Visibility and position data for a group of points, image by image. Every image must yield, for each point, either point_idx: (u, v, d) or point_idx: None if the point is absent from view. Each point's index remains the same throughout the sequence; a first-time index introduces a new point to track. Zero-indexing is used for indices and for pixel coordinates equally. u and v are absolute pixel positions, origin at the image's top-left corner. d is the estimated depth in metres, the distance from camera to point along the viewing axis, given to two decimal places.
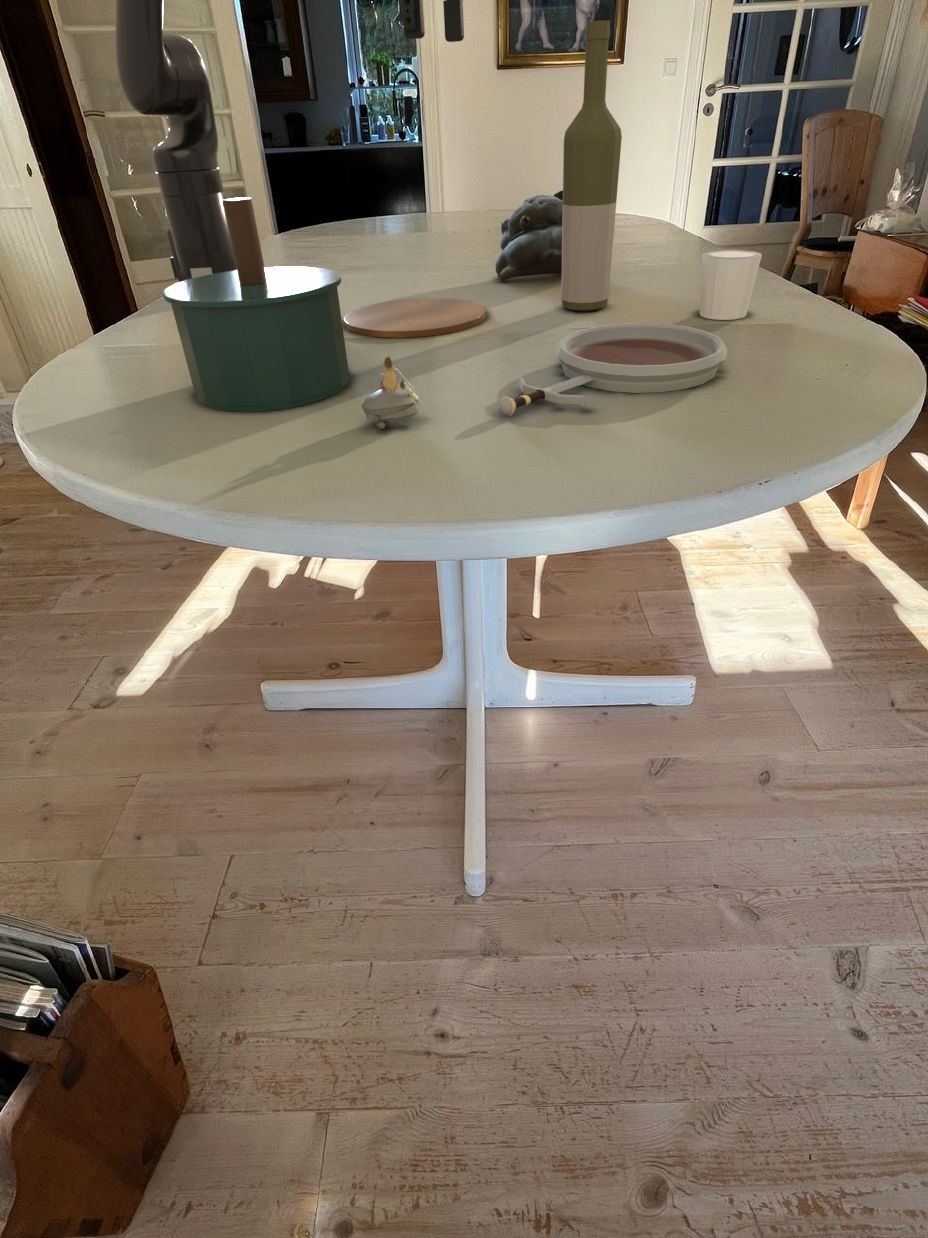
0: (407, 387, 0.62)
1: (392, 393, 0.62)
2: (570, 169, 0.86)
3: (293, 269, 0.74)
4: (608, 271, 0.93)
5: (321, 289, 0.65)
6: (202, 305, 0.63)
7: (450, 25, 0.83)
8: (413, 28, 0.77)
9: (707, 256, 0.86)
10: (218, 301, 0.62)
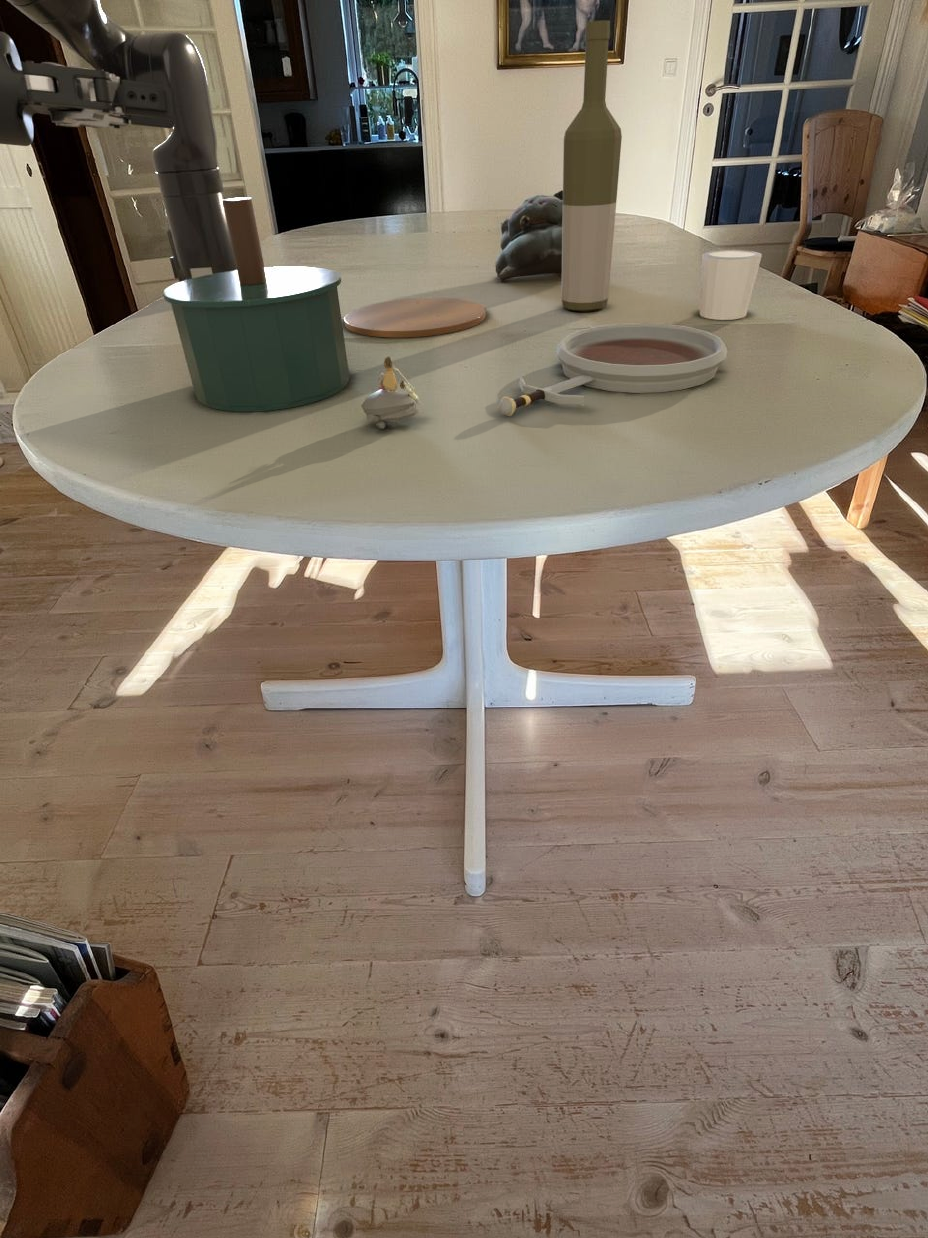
0: (407, 387, 0.62)
1: (392, 393, 0.62)
2: (570, 169, 0.86)
3: (293, 269, 0.74)
4: (608, 271, 0.93)
5: (321, 289, 0.65)
6: (202, 305, 0.63)
7: None
8: None
9: (707, 256, 0.86)
10: (218, 301, 0.62)
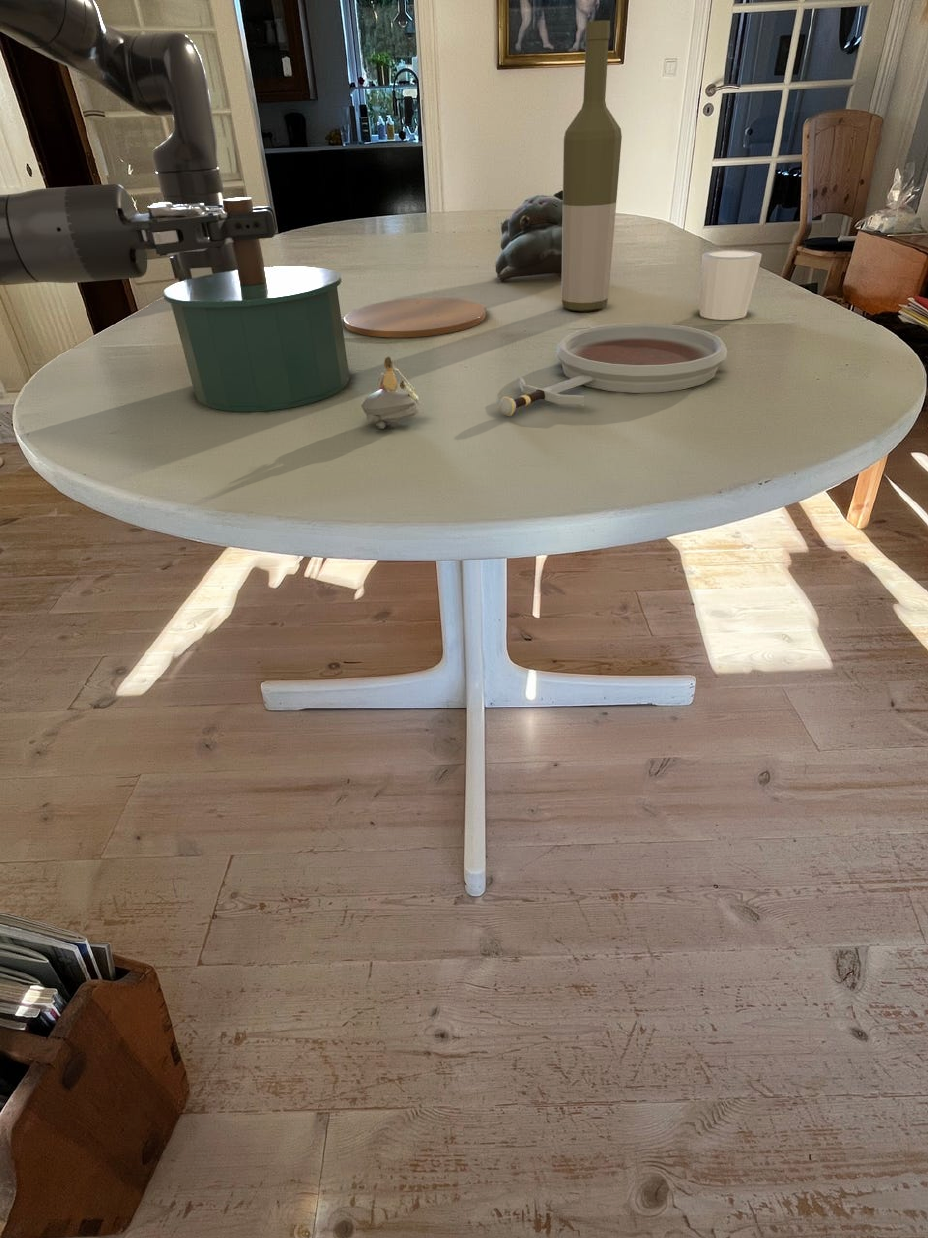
0: (407, 387, 0.62)
1: (392, 393, 0.62)
2: (570, 169, 0.86)
3: (293, 269, 0.74)
4: (608, 271, 0.93)
5: (321, 289, 0.65)
6: (202, 305, 0.63)
7: None
8: None
9: (707, 256, 0.86)
10: (218, 301, 0.62)
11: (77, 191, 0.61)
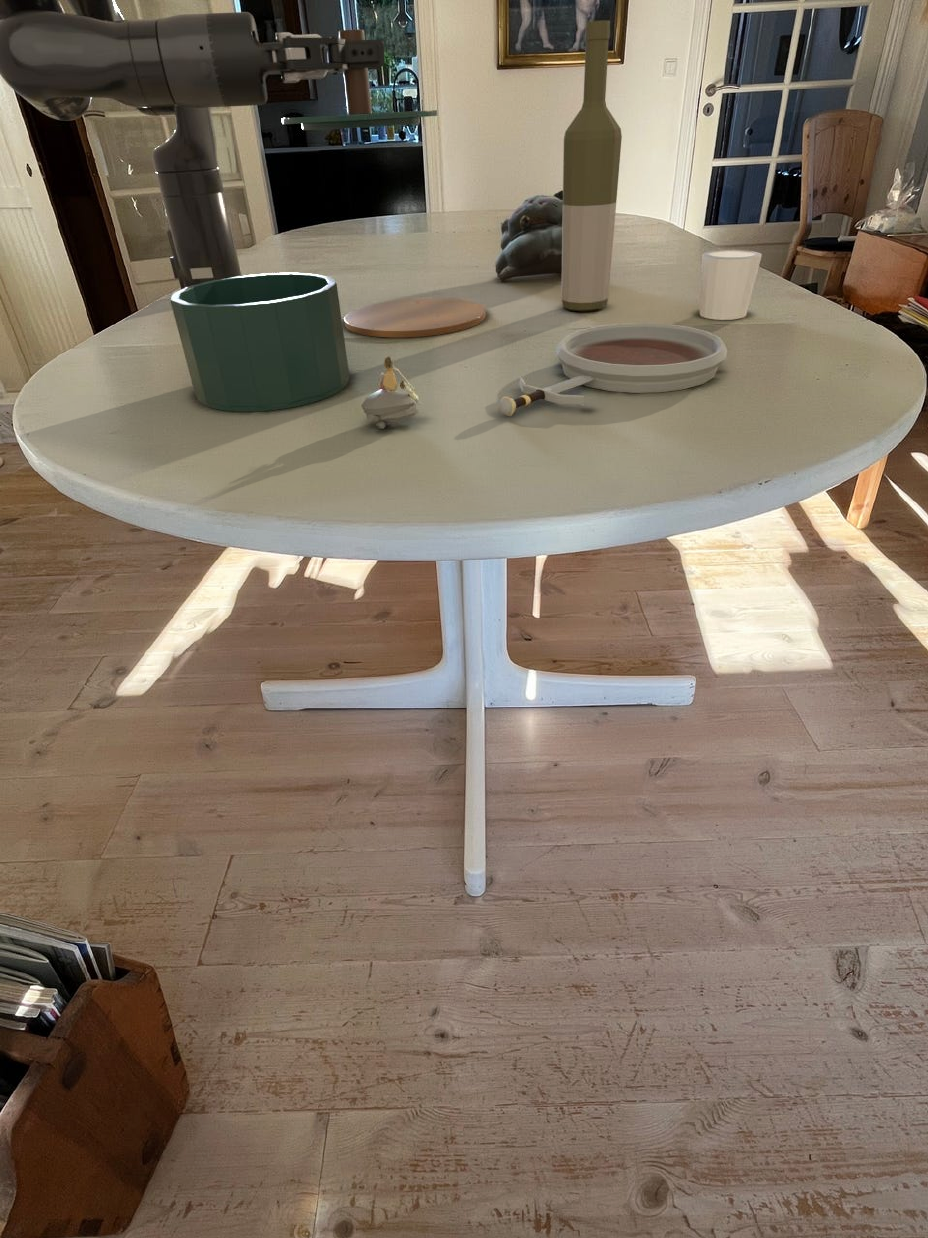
0: (407, 387, 0.62)
1: (392, 393, 0.62)
2: (570, 169, 0.86)
3: None
4: (608, 271, 0.93)
5: (425, 112, 0.74)
6: (324, 119, 0.71)
7: None
8: None
9: (707, 256, 0.86)
10: (339, 115, 0.71)
11: (217, 15, 0.70)
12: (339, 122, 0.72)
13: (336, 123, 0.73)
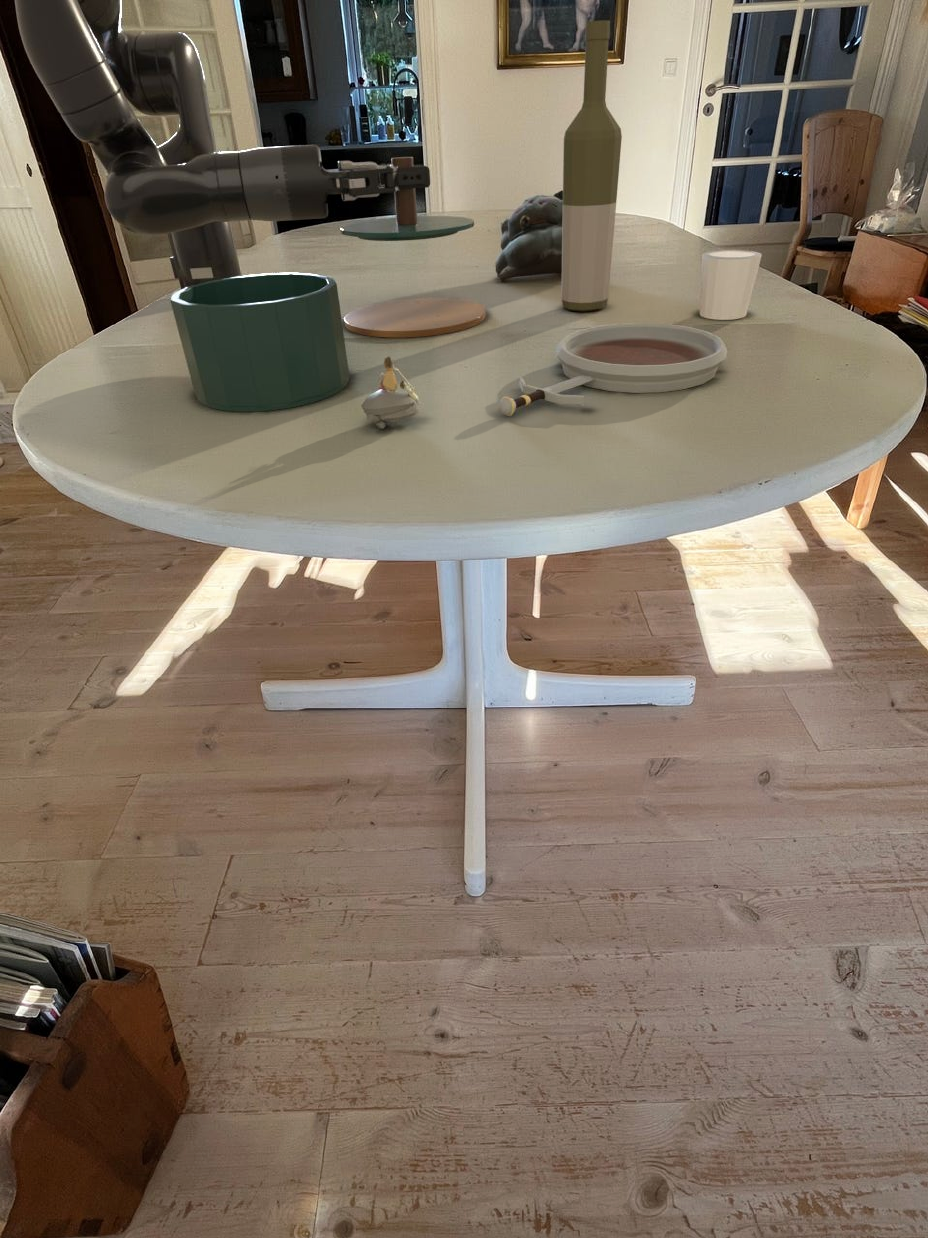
0: (407, 387, 0.62)
1: (392, 393, 0.62)
2: (570, 169, 0.86)
3: (430, 217, 0.94)
4: (608, 271, 0.93)
5: (465, 226, 0.86)
6: (379, 235, 0.83)
7: None
8: None
9: (707, 256, 0.86)
10: (392, 232, 0.83)
11: (290, 149, 0.82)
12: None
13: None
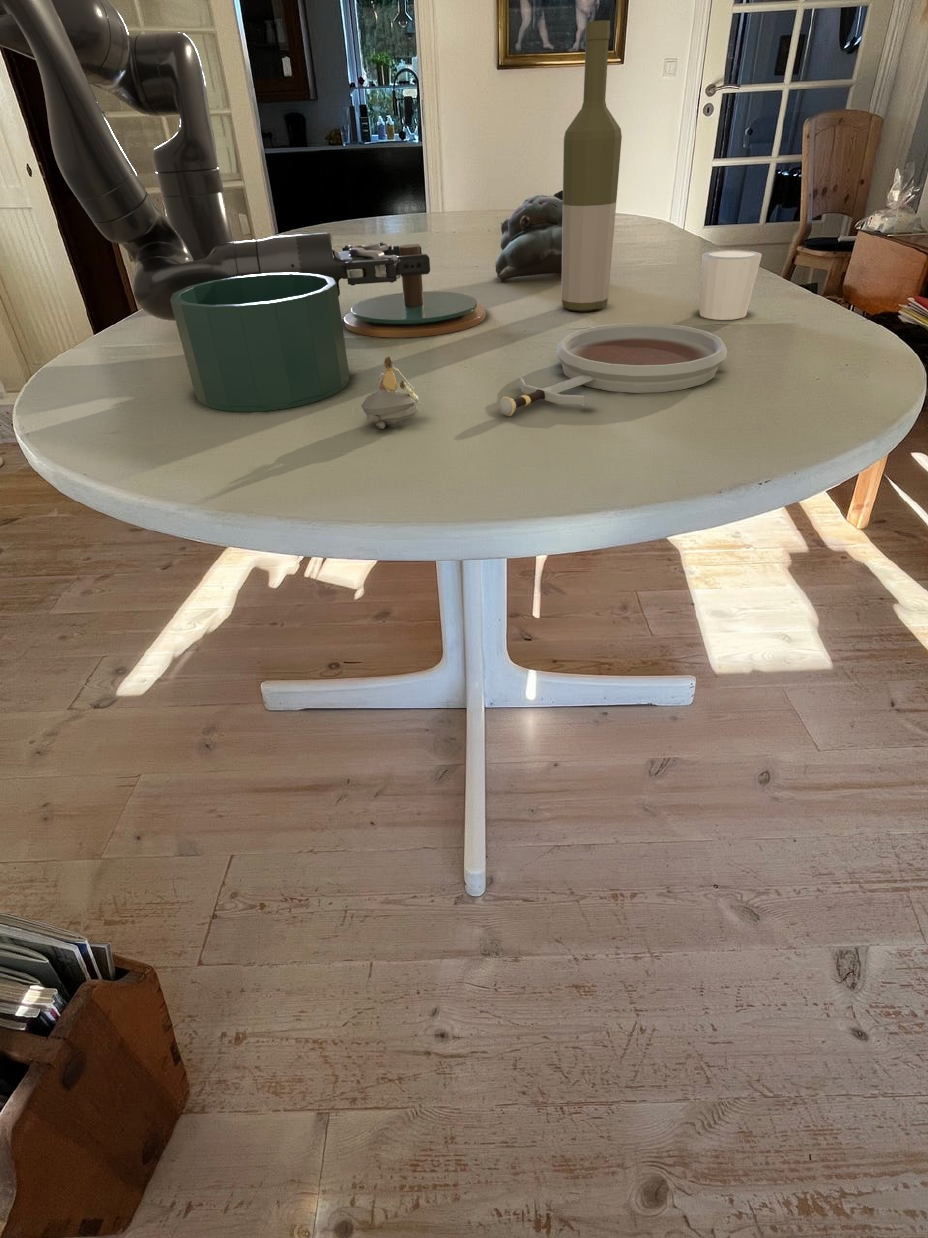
0: (407, 387, 0.62)
1: (392, 393, 0.62)
2: (570, 169, 0.86)
3: (435, 293, 1.00)
4: (608, 271, 0.93)
5: (468, 310, 0.91)
6: (389, 322, 0.89)
7: None
8: None
9: (707, 256, 0.86)
10: (401, 319, 0.88)
11: (304, 238, 0.87)
12: None
13: None
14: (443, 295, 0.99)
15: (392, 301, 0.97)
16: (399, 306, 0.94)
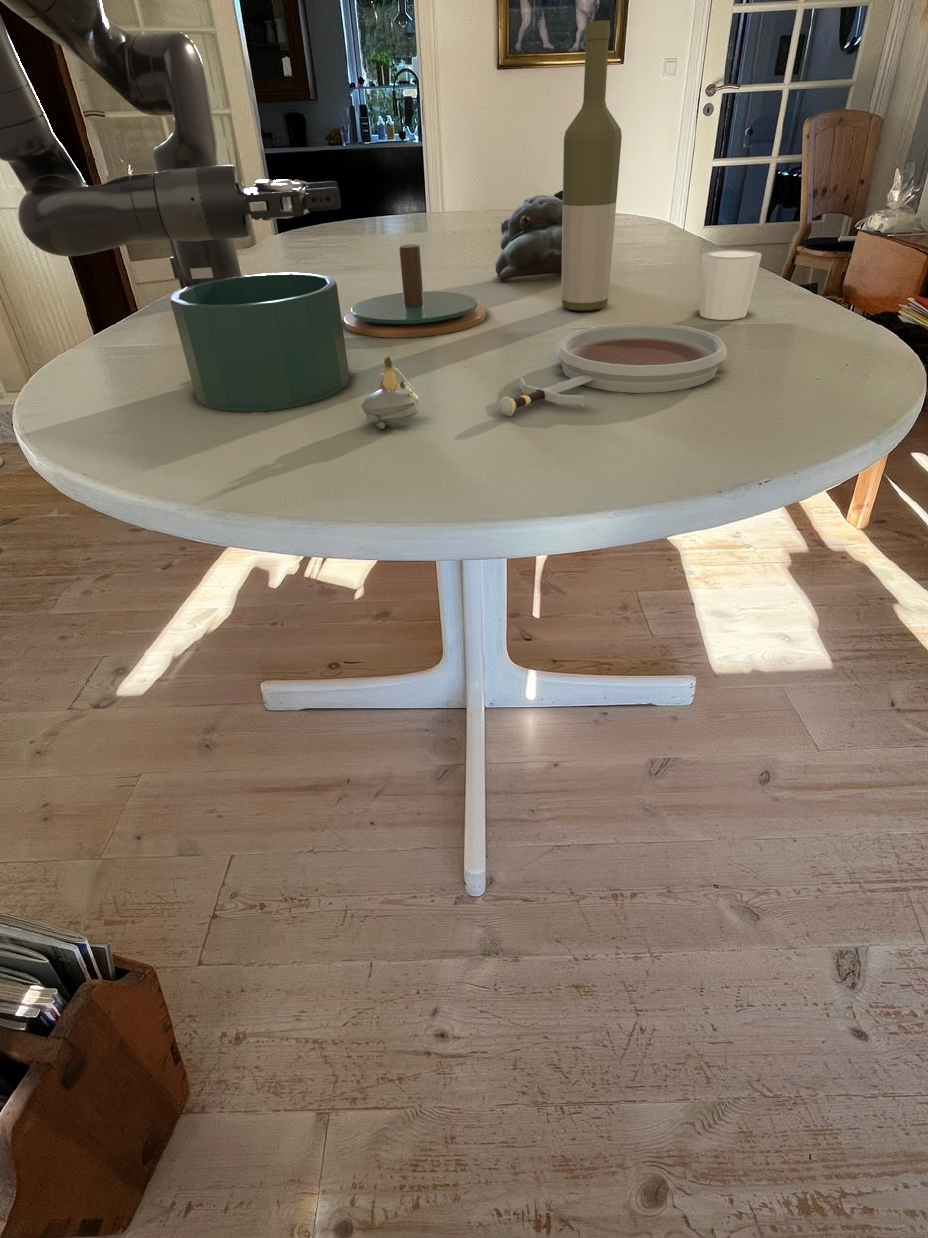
0: (407, 387, 0.62)
1: (392, 393, 0.62)
2: (570, 169, 0.86)
3: (435, 293, 1.00)
4: (608, 271, 0.93)
5: (468, 310, 0.91)
6: (389, 322, 0.89)
7: None
8: None
9: (707, 256, 0.86)
10: (401, 319, 0.88)
11: (205, 170, 0.82)
12: None
13: None
14: (443, 295, 0.99)
15: (392, 301, 0.97)
16: (399, 306, 0.94)
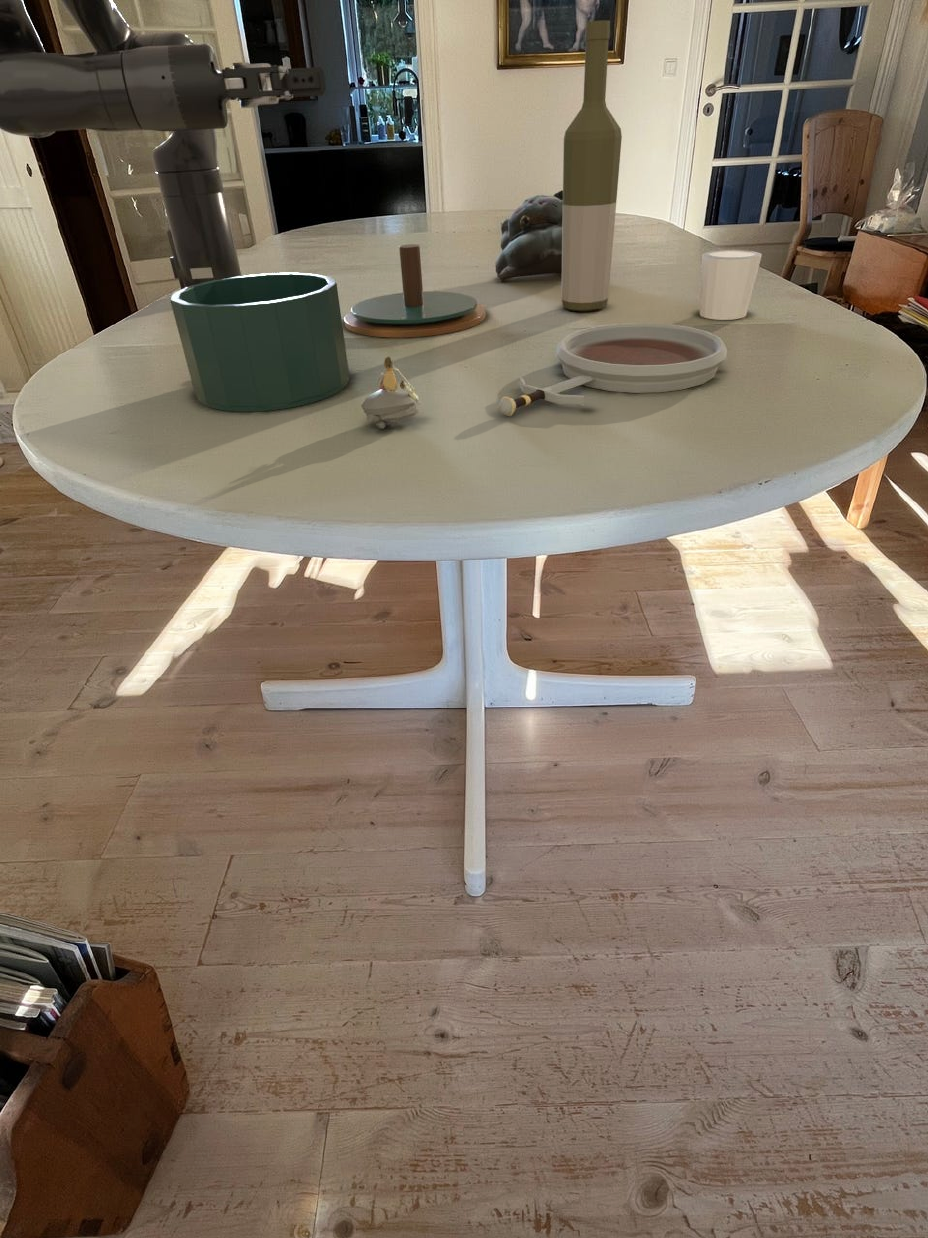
0: (407, 387, 0.62)
1: (392, 393, 0.62)
2: (570, 169, 0.86)
3: (435, 293, 1.00)
4: (608, 271, 0.93)
5: (468, 310, 0.91)
6: (389, 322, 0.89)
7: None
8: None
9: (707, 256, 0.86)
10: (401, 319, 0.88)
11: (178, 47, 0.75)
12: None
13: None
14: (443, 295, 0.99)
15: (392, 301, 0.97)
16: (399, 306, 0.94)
